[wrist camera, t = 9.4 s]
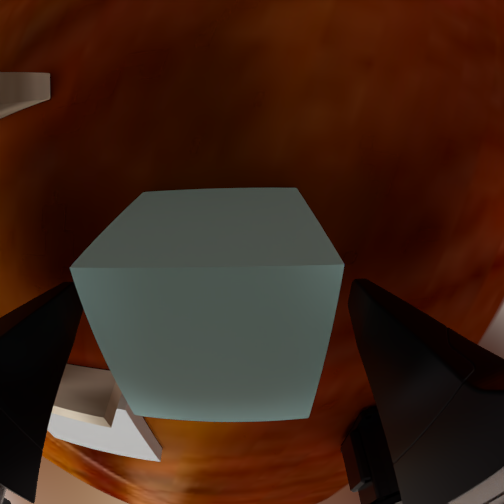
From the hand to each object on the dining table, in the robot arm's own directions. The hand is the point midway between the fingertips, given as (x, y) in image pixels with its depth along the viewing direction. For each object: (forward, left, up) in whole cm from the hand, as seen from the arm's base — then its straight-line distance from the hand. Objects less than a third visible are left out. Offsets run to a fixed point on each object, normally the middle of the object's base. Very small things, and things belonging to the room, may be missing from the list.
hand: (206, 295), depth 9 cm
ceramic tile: (+10, +12, -2) cm, 16 cm away
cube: (0, 0, -2) cm, 2 cm away
